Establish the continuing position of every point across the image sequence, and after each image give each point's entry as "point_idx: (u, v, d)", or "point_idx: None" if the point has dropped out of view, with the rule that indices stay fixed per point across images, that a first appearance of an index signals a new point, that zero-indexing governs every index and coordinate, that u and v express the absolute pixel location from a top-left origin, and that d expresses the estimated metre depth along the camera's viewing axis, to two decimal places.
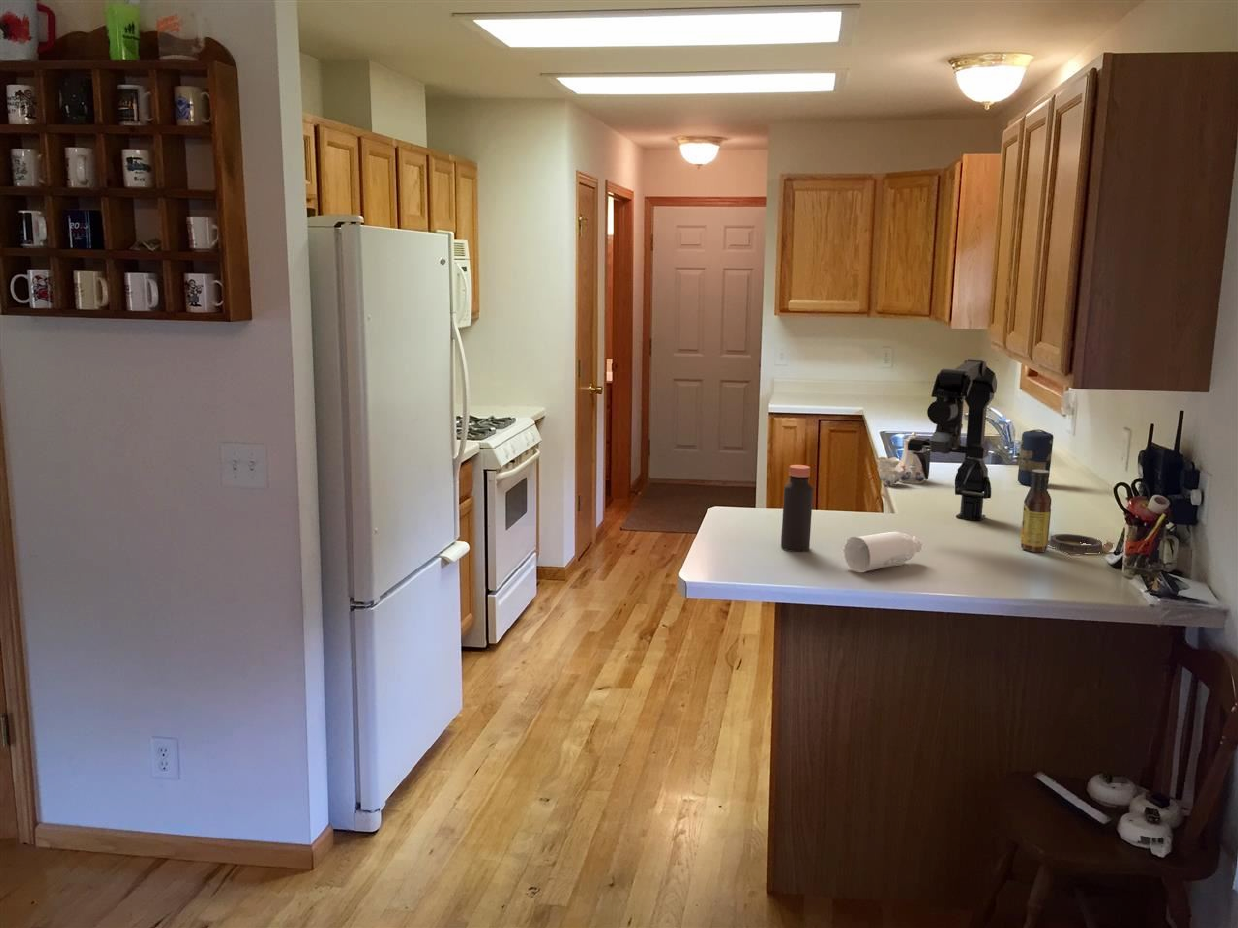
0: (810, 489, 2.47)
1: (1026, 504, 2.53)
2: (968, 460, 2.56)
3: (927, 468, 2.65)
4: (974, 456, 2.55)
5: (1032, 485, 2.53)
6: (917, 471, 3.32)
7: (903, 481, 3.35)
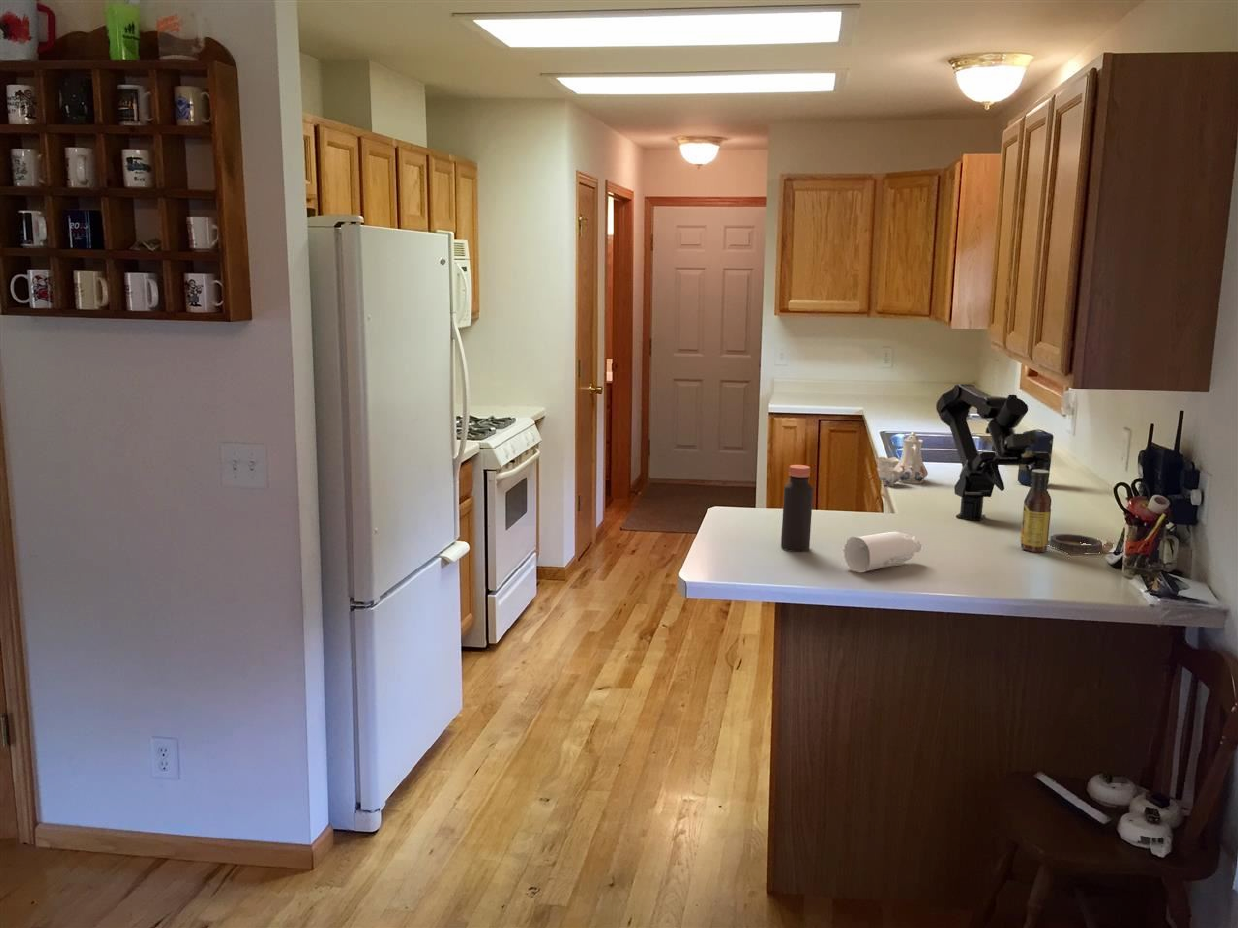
0: (810, 489, 2.47)
1: (1026, 504, 2.53)
2: (1040, 462, 2.64)
3: None
4: (1045, 457, 2.64)
5: (1032, 485, 2.53)
6: (917, 471, 3.32)
7: (902, 481, 3.35)
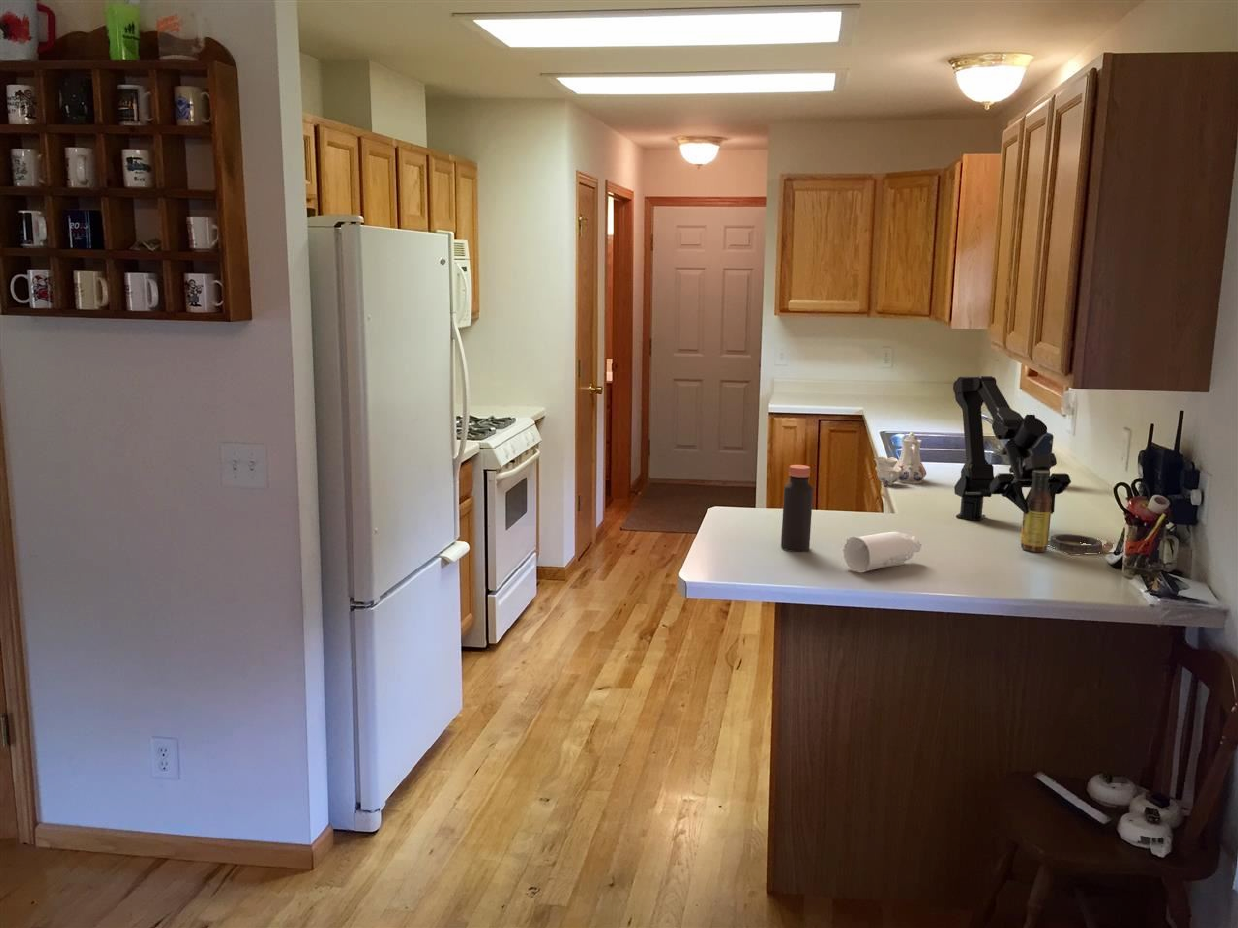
0: (810, 489, 2.47)
1: (1027, 504, 2.53)
2: (1055, 484, 2.55)
3: None
4: (1064, 479, 2.56)
5: (1033, 485, 2.53)
6: (915, 471, 3.33)
7: (901, 481, 3.35)
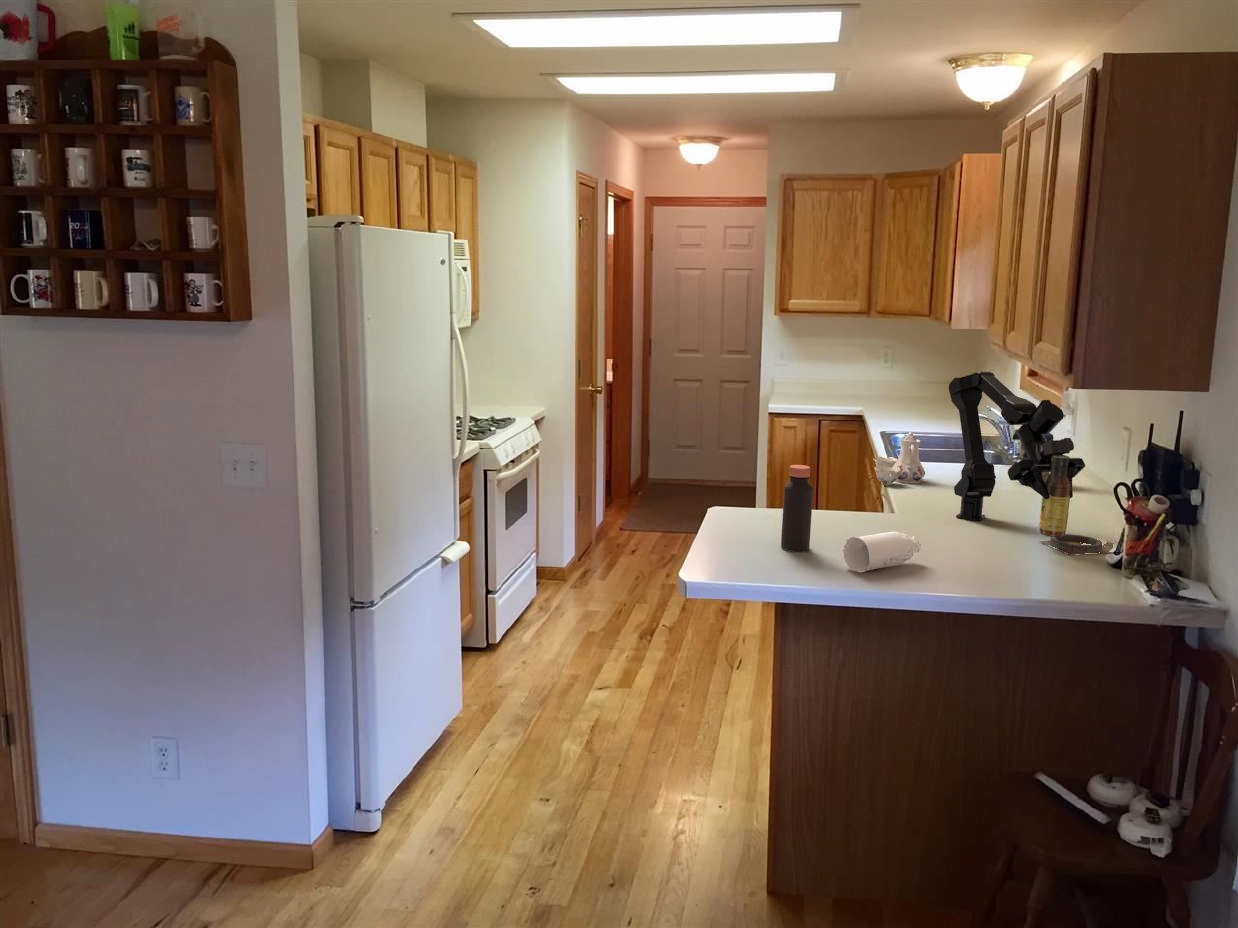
0: (810, 489, 2.47)
1: None
2: (1071, 469, 2.56)
3: None
4: (1080, 463, 2.57)
5: (1052, 470, 2.53)
6: (914, 471, 3.33)
7: (900, 481, 3.35)
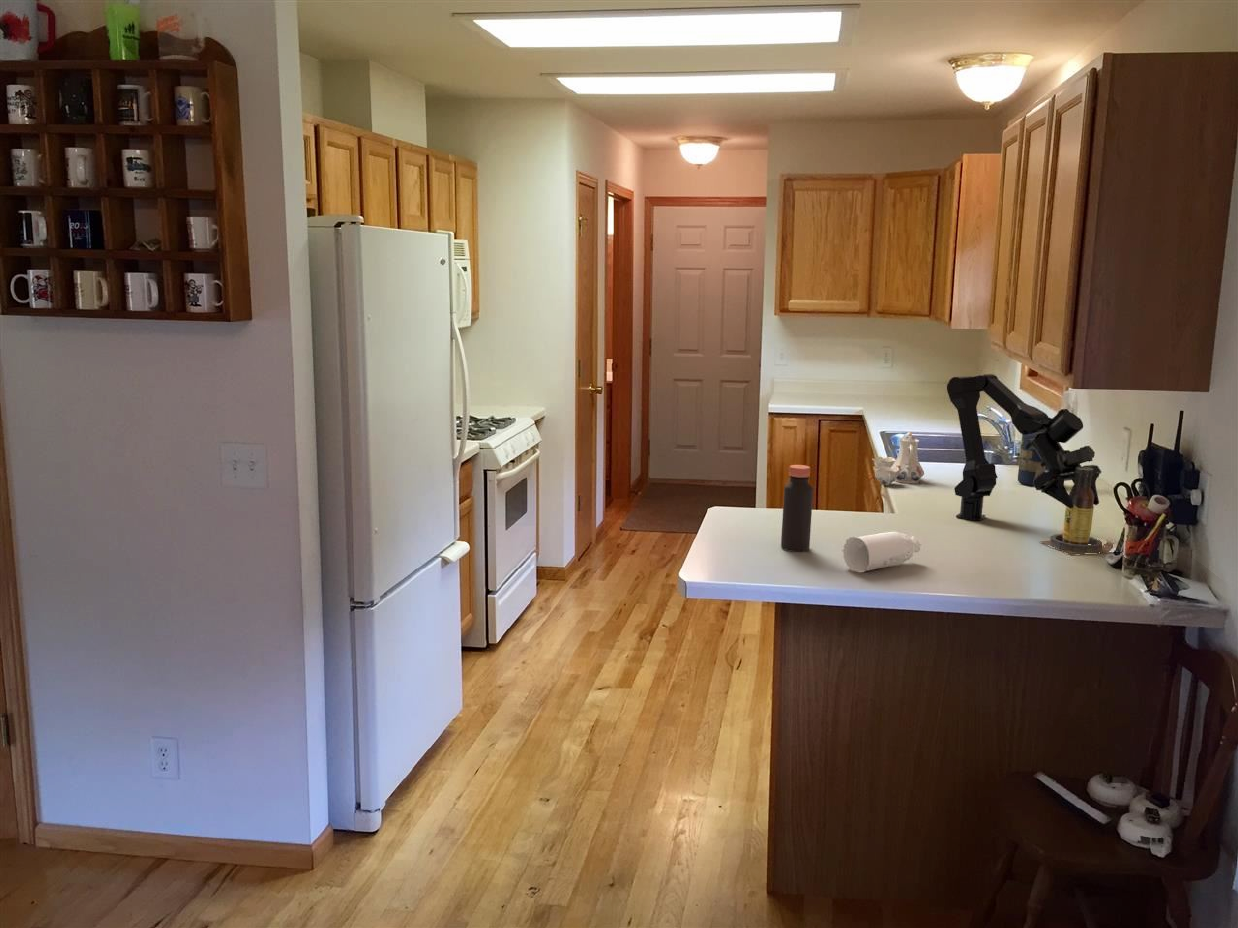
0: (810, 489, 2.47)
1: (1073, 502, 2.55)
2: (1094, 476, 2.60)
3: None
4: (1097, 470, 2.61)
5: (1078, 482, 2.55)
6: (913, 471, 3.33)
7: (899, 481, 3.35)
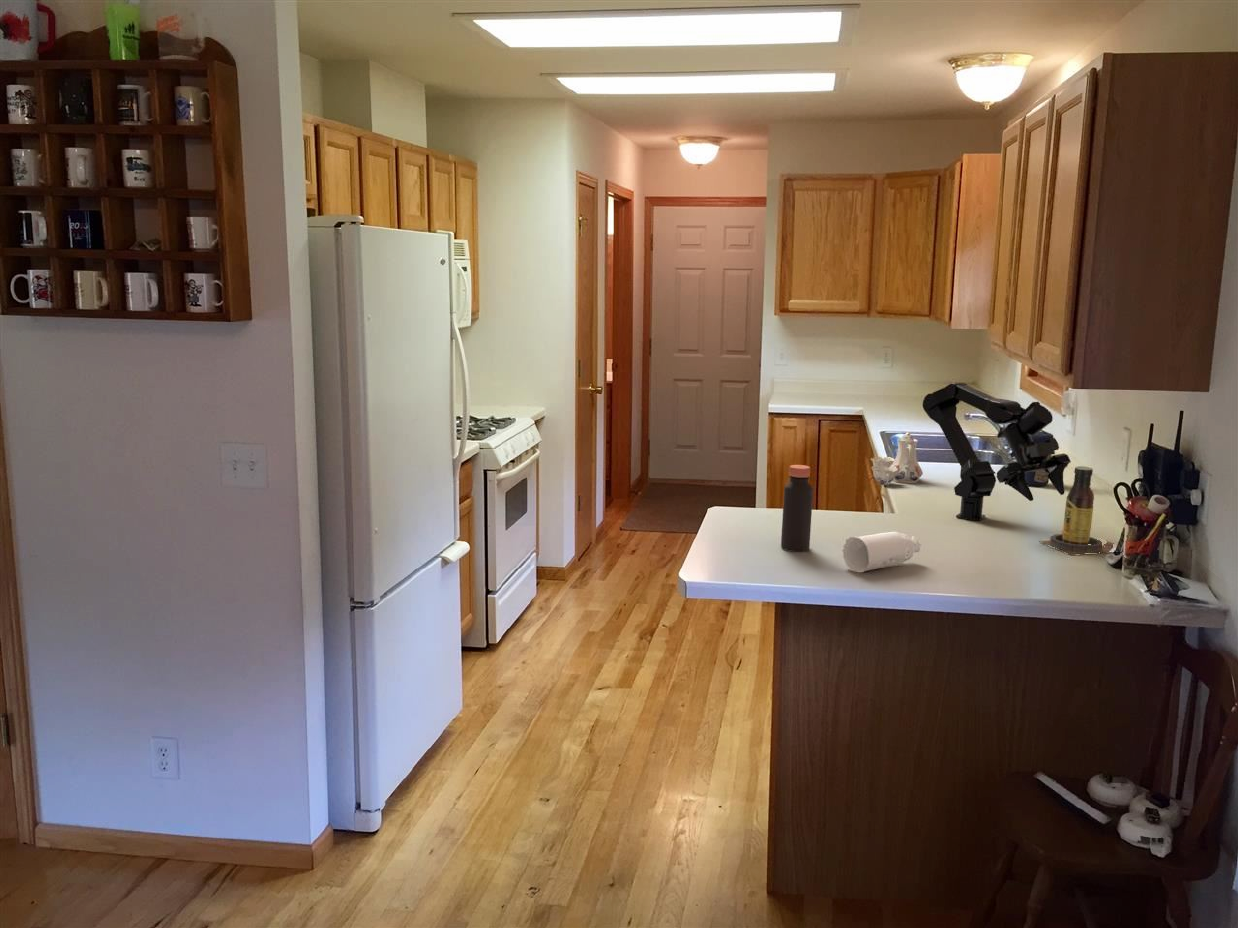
0: (810, 489, 2.47)
1: (1072, 502, 2.56)
2: (1061, 466, 2.66)
3: None
4: (1065, 460, 2.67)
5: (1077, 482, 2.55)
6: (911, 471, 3.33)
7: (897, 481, 3.35)
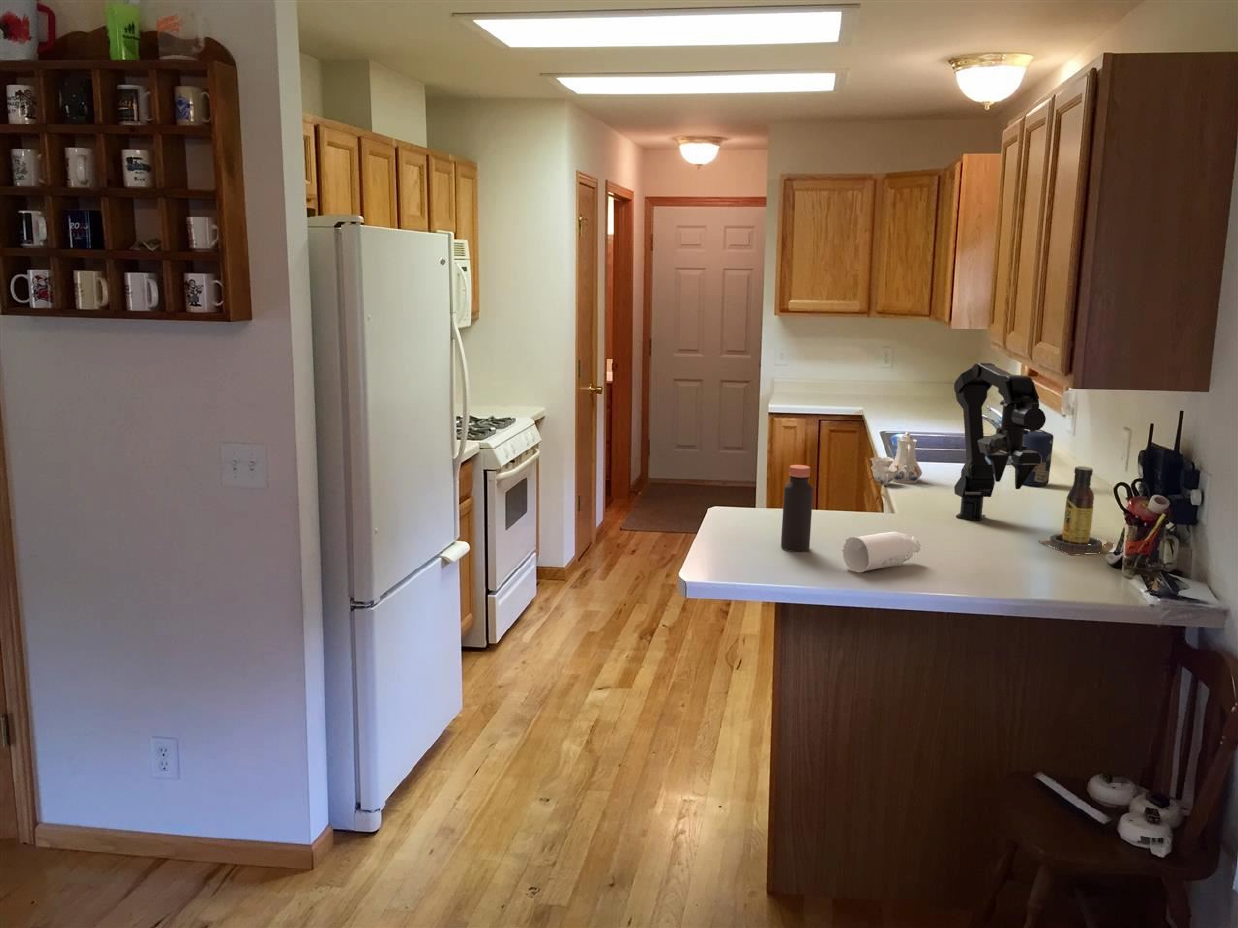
0: (810, 489, 2.47)
1: (1072, 502, 2.56)
2: (1013, 464, 2.61)
3: (998, 471, 2.72)
4: (1015, 461, 2.59)
5: (1077, 482, 2.55)
6: (911, 471, 3.33)
7: (897, 481, 3.35)
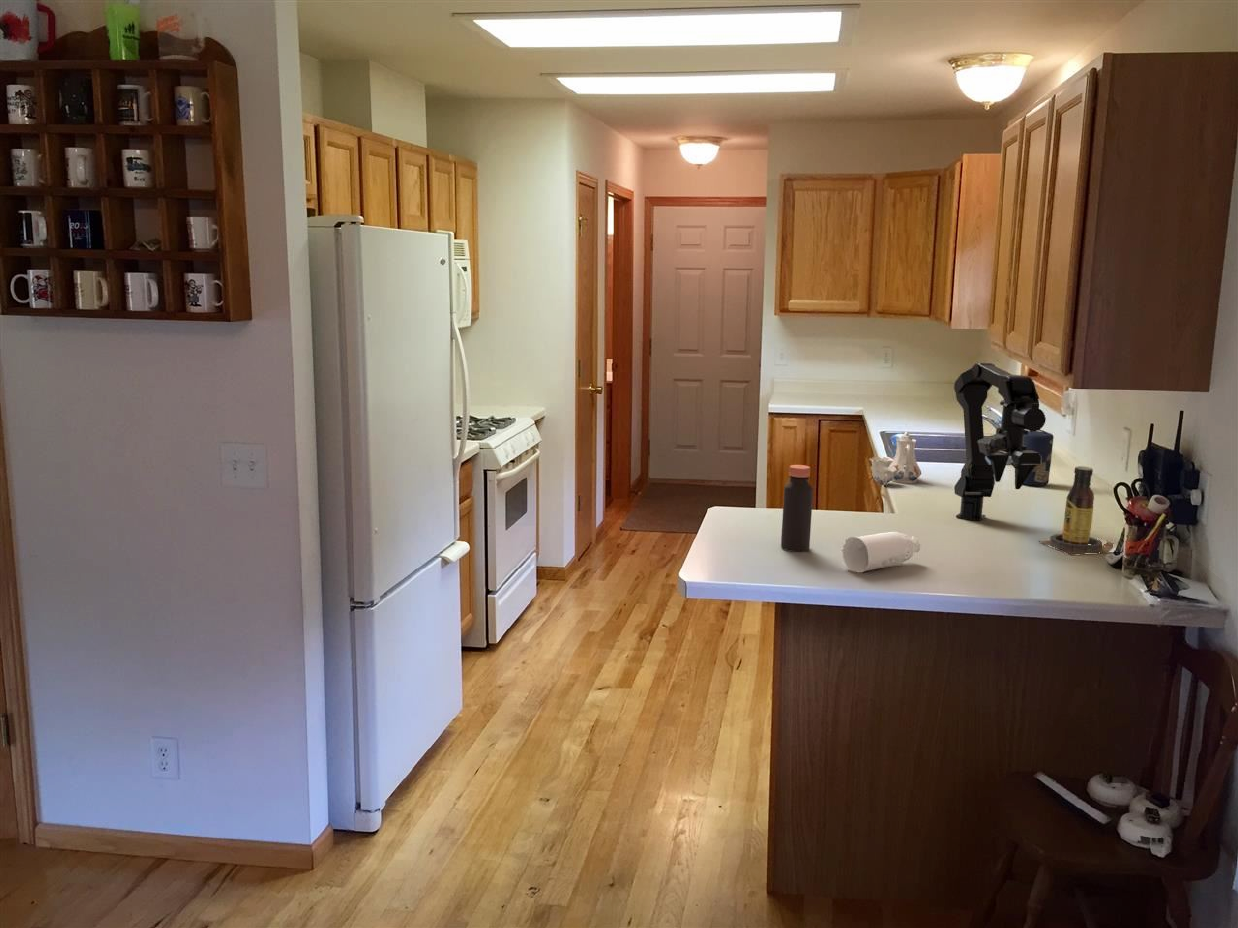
0: (810, 489, 2.47)
1: (1072, 502, 2.56)
2: (1013, 465, 2.61)
3: (998, 471, 2.72)
4: (1015, 461, 2.59)
5: (1077, 482, 2.55)
6: (910, 471, 3.33)
7: (896, 481, 3.35)
